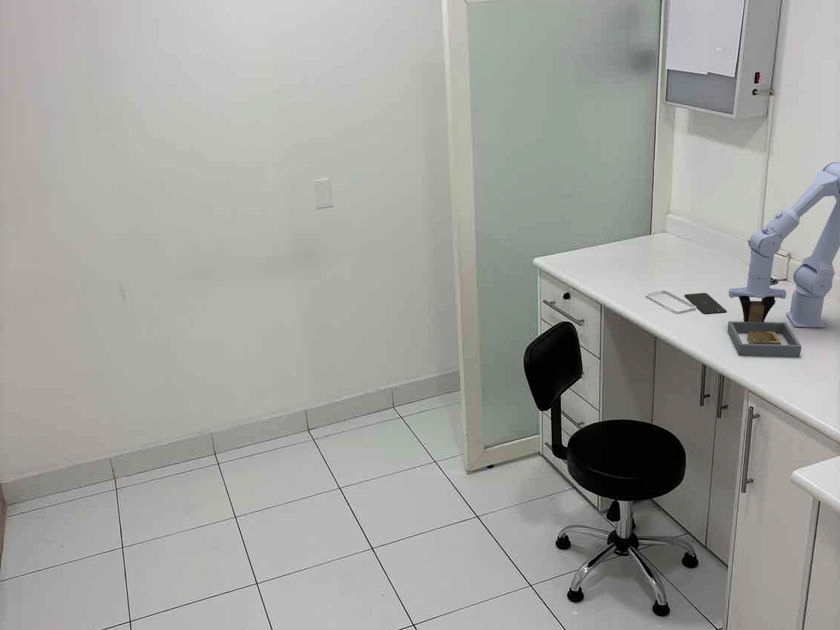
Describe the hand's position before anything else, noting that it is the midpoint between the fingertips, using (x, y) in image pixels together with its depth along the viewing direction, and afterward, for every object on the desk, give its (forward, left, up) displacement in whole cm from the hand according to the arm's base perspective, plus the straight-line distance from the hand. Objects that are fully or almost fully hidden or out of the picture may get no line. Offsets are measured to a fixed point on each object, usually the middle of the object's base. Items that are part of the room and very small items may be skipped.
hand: (753, 321), depth 236 cm
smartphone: (-16, -10, -2) cm, 19 cm away
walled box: (+11, 0, -2) cm, 11 cm away
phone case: (-16, -20, -2) cm, 26 cm away
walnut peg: (0, 0, -2) cm, 2 cm away
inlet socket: (+12, 0, -2) cm, 12 cm away
